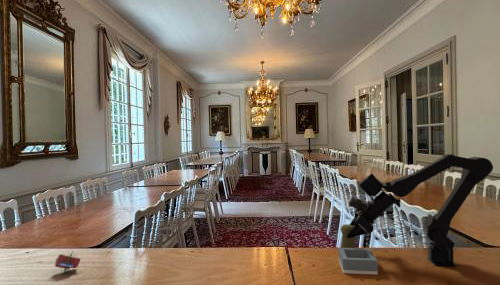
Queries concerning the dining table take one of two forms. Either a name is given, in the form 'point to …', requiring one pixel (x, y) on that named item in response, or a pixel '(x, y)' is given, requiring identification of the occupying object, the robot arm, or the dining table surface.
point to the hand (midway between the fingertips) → (347, 233)
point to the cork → (346, 241)
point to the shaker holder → (358, 261)
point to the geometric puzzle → (67, 261)
